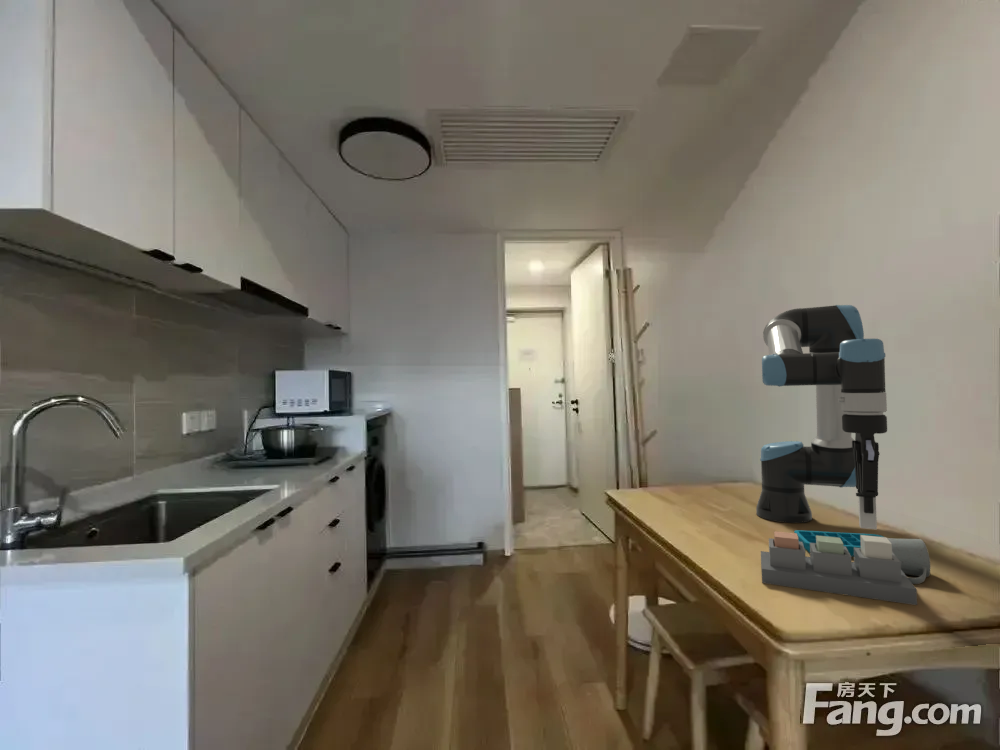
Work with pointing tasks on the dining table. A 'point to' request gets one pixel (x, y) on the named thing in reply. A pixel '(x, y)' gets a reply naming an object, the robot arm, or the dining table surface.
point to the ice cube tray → (847, 538)
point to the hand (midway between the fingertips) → (868, 527)
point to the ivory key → (876, 547)
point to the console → (837, 573)
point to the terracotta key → (786, 540)
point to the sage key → (829, 544)
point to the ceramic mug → (912, 558)
